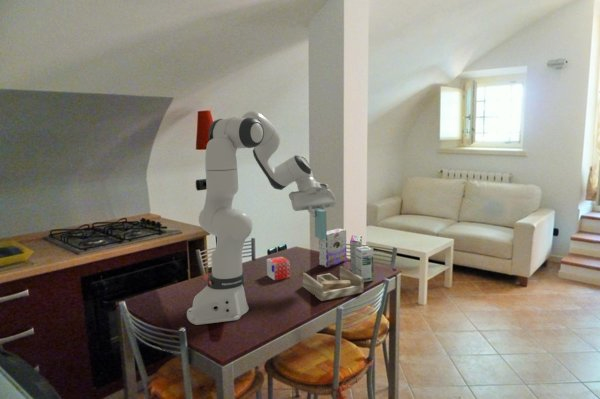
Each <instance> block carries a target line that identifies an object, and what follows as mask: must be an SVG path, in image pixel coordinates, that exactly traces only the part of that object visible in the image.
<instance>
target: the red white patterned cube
mask: <svg viewBox="0 0 600 399" xmlns="http://www.w3.org/2000/svg"><path fill="white" fill-rule="evenodd" d="M266 274H267V276H268V277H269V278H270V279H272V280H273V281H278V280H279V281H280V280H285V279H288V278H291V261H290V260H289V259H288V258H286V257H284V256H277V257H271V258H266ZM284 278H285V279H284Z"/></svg>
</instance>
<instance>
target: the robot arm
mask: <svg viewBox="0 0 600 399" xmlns="http://www.w3.org/2000/svg"><path fill="white" fill-rule="evenodd" d="M208 140H209V141H208V142H207V143H206V149H205V157H204V158H205V159H204V160H205V161H204V162H205V166H204V167H205V168H204V169H205V182H206V186H205V187H206V192H205V193H206V195H205V200H204V205H203V208H202V209H201V211H200V212H199V215H198V223H199V226H200V227H201V228H202V229H203V230H204V231H205V232H206V233H208V234H210V235H213V236H215V237H216V246H215V249H214V250H213V251H212V252H211V256H210V259H211V275H209V274H204V276H203V280H204V281H205V282H206V286H205V287H204V288H203V289H201V291H199V292H198V293H197V294H196V295H195V296H194V298H193V301H192V306H191V307H190V308H188V309H187V310H186V318H187V320H188V322H190V323H191V324H193V325H195V326H198V325H199V326H200V325H206V324H208V325H209V324H214V323H222V322H231V321H238V320H239V319H240V318H241V317H242V316H243V315H245V314H247V312H249V309H250V307H249V305H248V302H247V297H246V293H245V284H246V282H245V273H244V272H243V250H244V245H245V242H246V240H247V238H248V237H250V236H251V233H252V231H253V222H252V219H251V218H250V216H249V215H248V214H246V213H245V212H243V211H241V210H239V209H235V208H233V200H234V197H235V195H236V194H237V192H238V191H239V178H238V177H239V176H238V174H239V173H238V161H237V155H236V153H237V150H238V149H251V148H252V149H253V150H252V154H253V157H254V159H255V161H256V164H258V166H259V168H260V169H261V170H262V172H263V174H264V175H265V177H266V178H267V180H268V183H269V185H270V186H271V187H272V188H273V189H275V190H279V191H281V190H282V191H283V189H285V188H287V187H288V186H289V185H291V184H293V183H294V182H295V184H296V185H297V191H291V192H289V193H288V198H289V200H291V201H290V202H291V206H292V209H293V211H295V212H300V211H307V212H308V213H309V214H311V215H312V217H313V218H315V217H317V212H315V209H322V210H325V211H326V208H327V209H328V208H334V207H335V206H336V204H337V199H336V196H335V194H334V193H333V191H332V190H331V189H330V186H329V184H327V183H323V182H318V181H317V180H316V179H315V178H314V174H313V171H312V168H311V166H310V164H309V162H308V160H307V159H306V158H305V157H303V156H301V155H296V154H295V155H294V156H292V157H290V158H288V159H286V160H285V161H284V162H282V163H280V164H279V165H277V166H272V164H271V163H270V162H269V161H270V158H271V157H272V155H273V154H275V152H276V151H277V150H278V149H279V146H280V144H281V143H280V142H281V136H280V132H279V131H278V129H277V128H276V127H275V126H274V124H273V123H272V122H271V121H270V120H269V119H268V118H267V117H265V115H263V114H261V113H260V112H259V111H256V110H249V111H247V112H246V113H244V114H243V115H242V116H241V117H227V118H226V117H225V118H219V119H216V120H214V121H212V122H211V124H210V126H209V128H208Z"/></svg>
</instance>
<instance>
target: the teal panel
mask: <svg viewBox="0 0 600 399" xmlns="http://www.w3.org/2000/svg"><path fill="white" fill-rule="evenodd" d="M314 212H317V217H314V236H315V238H317V239H318V240H319V239H327V231H328V230H327V228H328V227H327V210H326V209H325V210H322V209H320V208H319V209H314Z"/></svg>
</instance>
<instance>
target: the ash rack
mask: <svg viewBox="0 0 600 399" xmlns="http://www.w3.org/2000/svg"><path fill="white" fill-rule="evenodd" d="M335 280H350V282H351V285H353V286H351V287H346V288H341V289H336V290H331V291H326V292H324V285H322V284H321V281H335ZM302 287H303V288H304V289H305V290H306V291H307V292H308V293H309V292H310V294H312V295H313V296H314V295H315V297H316V298H317V299H318V300H320V301H321V302H323V301H327V300H333V299H338V298H342V297H347V296H352V295H357V294H362V293H364V282H363V278H362V277H361V276H359V275H357V274H355V273H353V272H352V271H351V269H348V268H346V267H345V266H339V278H338V277H336V275H334V274H332V273H330V272H329V273H324V274H319V275H316V279H315V278H314V277H312V276H311V275H309V274H307V273H306V272H302Z"/></svg>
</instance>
